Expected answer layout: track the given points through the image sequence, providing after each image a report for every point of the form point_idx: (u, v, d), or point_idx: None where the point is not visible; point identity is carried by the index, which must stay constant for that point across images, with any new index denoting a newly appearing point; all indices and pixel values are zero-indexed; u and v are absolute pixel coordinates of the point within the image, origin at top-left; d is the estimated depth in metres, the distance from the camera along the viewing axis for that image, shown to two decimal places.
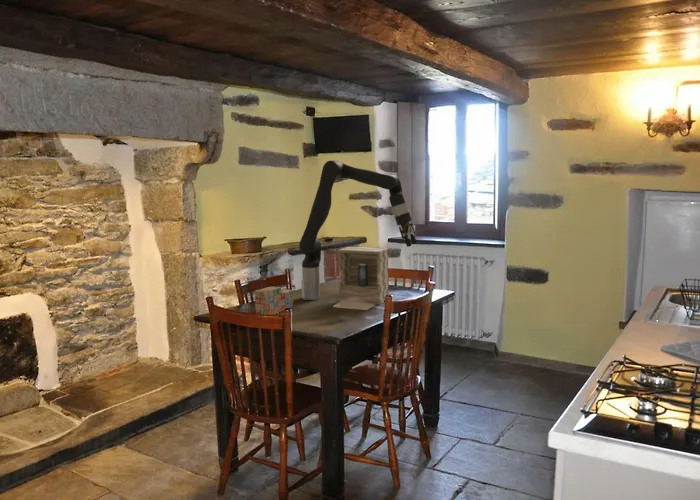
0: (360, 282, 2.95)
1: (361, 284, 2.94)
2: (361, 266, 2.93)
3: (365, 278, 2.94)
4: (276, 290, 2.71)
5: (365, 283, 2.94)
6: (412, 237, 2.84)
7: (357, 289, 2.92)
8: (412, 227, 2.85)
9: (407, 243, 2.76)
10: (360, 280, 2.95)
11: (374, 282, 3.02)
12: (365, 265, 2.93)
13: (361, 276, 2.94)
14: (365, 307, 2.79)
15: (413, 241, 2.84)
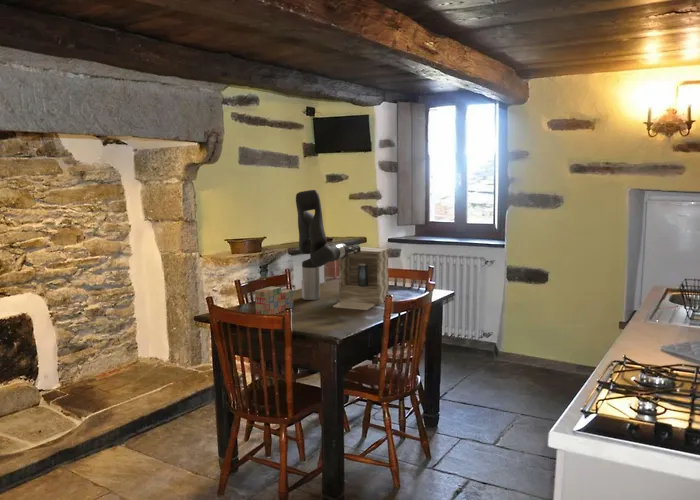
0: (360, 282, 2.95)
1: (361, 284, 2.94)
2: (361, 266, 2.93)
3: (365, 278, 2.94)
4: (276, 290, 2.72)
5: (365, 283, 2.94)
6: None
7: (357, 289, 2.92)
8: None
9: None
10: (360, 280, 2.95)
11: (374, 282, 3.02)
12: (365, 265, 2.93)
13: (361, 276, 2.94)
14: (365, 307, 2.79)
15: None
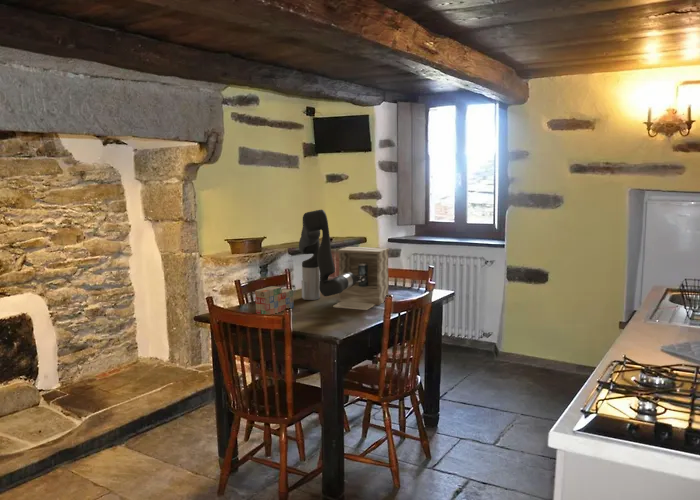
0: (360, 282, 2.95)
1: (361, 284, 2.94)
2: (361, 266, 2.93)
3: None
4: (276, 290, 2.72)
5: (365, 283, 2.94)
6: None
7: (357, 289, 2.92)
8: None
9: None
10: None
11: (374, 282, 3.02)
12: (365, 265, 2.93)
13: None
14: (365, 307, 2.79)
15: None
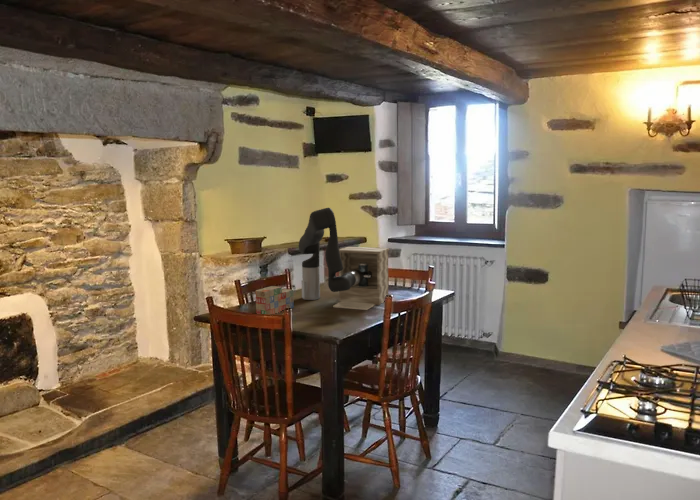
0: (360, 282, 2.95)
1: (361, 284, 2.94)
2: (361, 266, 2.93)
3: (365, 278, 2.94)
4: (277, 290, 2.72)
5: (365, 283, 2.94)
6: (367, 273, 2.94)
7: (357, 289, 2.92)
8: None
9: None
10: None
11: (374, 282, 3.02)
12: (365, 265, 2.93)
13: None
14: (365, 307, 2.79)
15: None
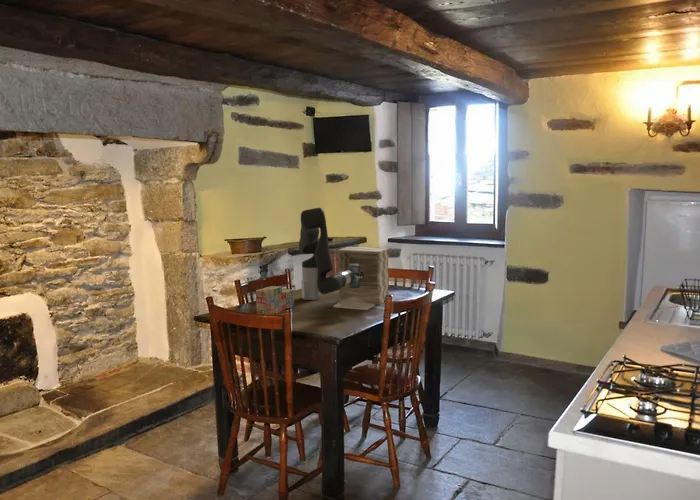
0: (351, 284, 2.84)
1: (353, 285, 2.83)
2: (352, 267, 2.82)
3: (357, 279, 2.83)
4: (277, 289, 2.73)
5: (357, 284, 2.83)
6: (358, 274, 2.83)
7: (357, 289, 2.92)
8: (360, 278, 2.78)
9: None
10: None
11: (374, 282, 3.02)
12: (357, 266, 2.82)
13: None
14: (365, 307, 2.79)
15: None
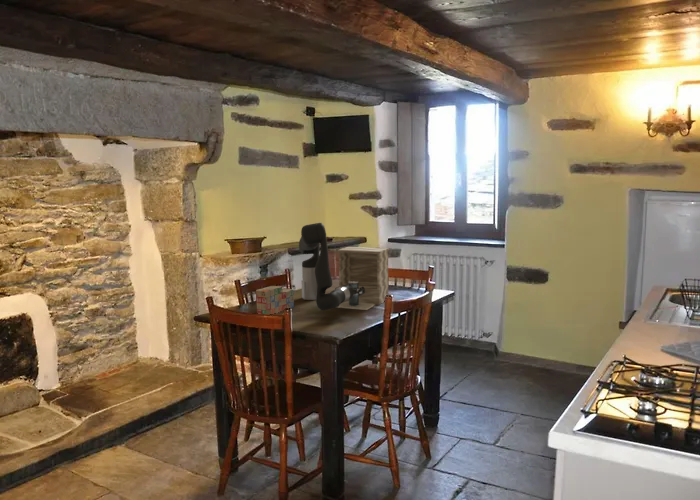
0: (350, 301, 2.84)
1: (352, 302, 2.83)
2: (351, 284, 2.82)
3: (356, 297, 2.83)
4: (277, 289, 2.73)
5: (356, 302, 2.83)
6: None
7: None
8: None
9: None
10: (350, 299, 2.83)
11: (374, 282, 3.02)
12: (355, 283, 2.82)
13: None
14: (365, 307, 2.79)
15: None
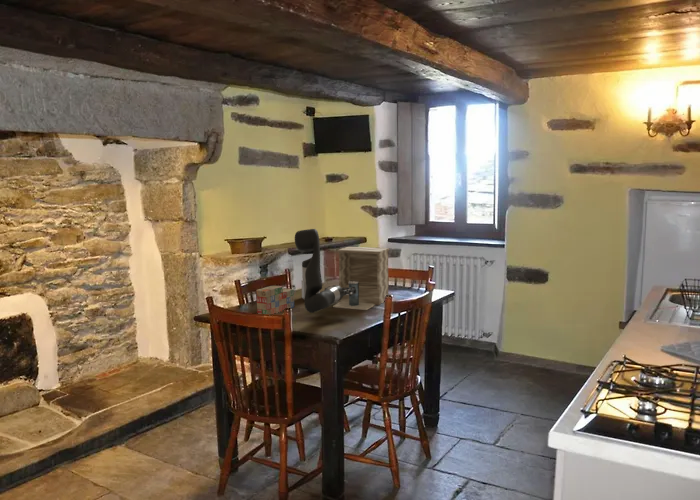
0: (350, 301, 2.84)
1: (352, 302, 2.83)
2: (352, 284, 2.82)
3: (356, 297, 2.83)
4: (277, 289, 2.73)
5: (356, 302, 2.83)
6: None
7: None
8: None
9: None
10: (351, 299, 2.83)
11: (374, 282, 3.02)
12: (356, 283, 2.82)
13: (352, 295, 2.83)
14: (365, 307, 2.79)
15: None
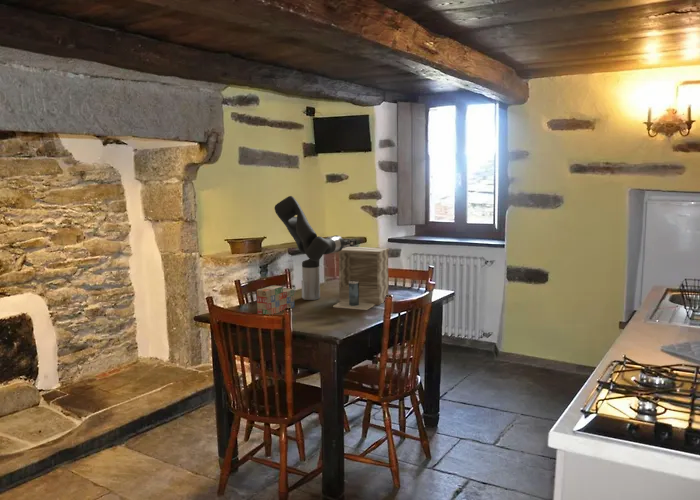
0: (350, 301, 2.84)
1: (352, 302, 2.83)
2: (352, 284, 2.82)
3: (356, 297, 2.83)
4: (278, 289, 2.74)
5: (356, 302, 2.83)
6: None
7: None
8: None
9: None
10: (351, 299, 2.83)
11: (374, 282, 3.02)
12: (356, 283, 2.82)
13: (352, 295, 2.83)
14: (365, 307, 2.79)
15: None
